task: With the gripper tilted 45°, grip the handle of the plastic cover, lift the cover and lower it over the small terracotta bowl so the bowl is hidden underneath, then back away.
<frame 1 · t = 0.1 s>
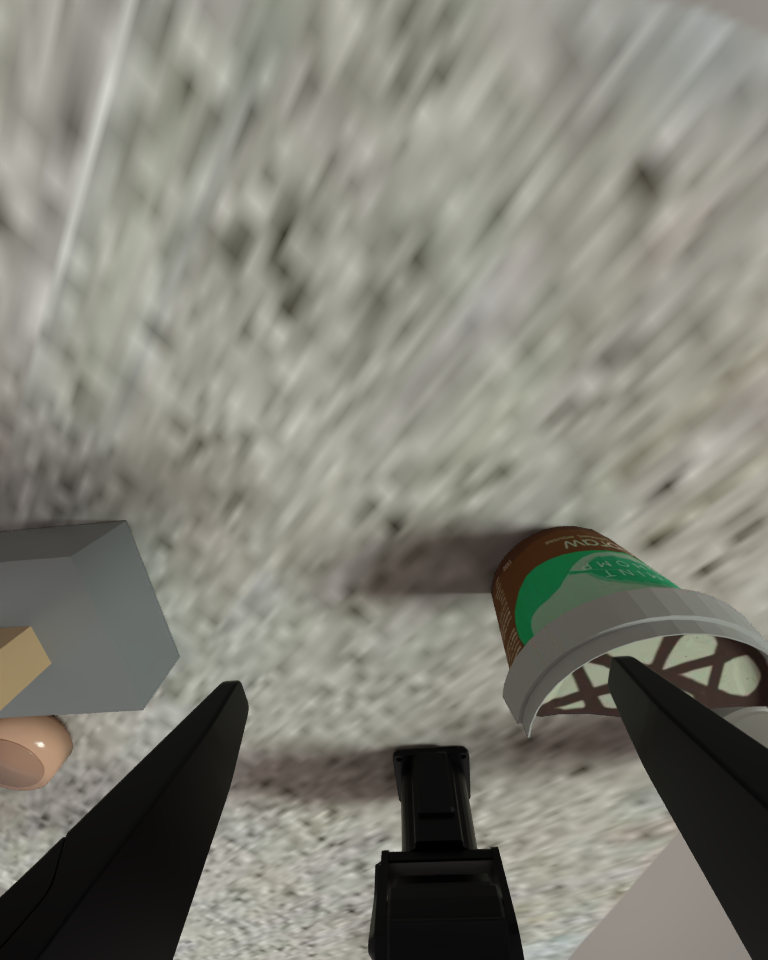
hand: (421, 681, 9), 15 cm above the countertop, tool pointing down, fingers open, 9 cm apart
food container: (560, 549, 24), on the countertop
travel mug: (734, 715, 29), on the countertop
bowl: (39, 728, 31), on the countertop
cover: (77, 599, 26), on the countertop
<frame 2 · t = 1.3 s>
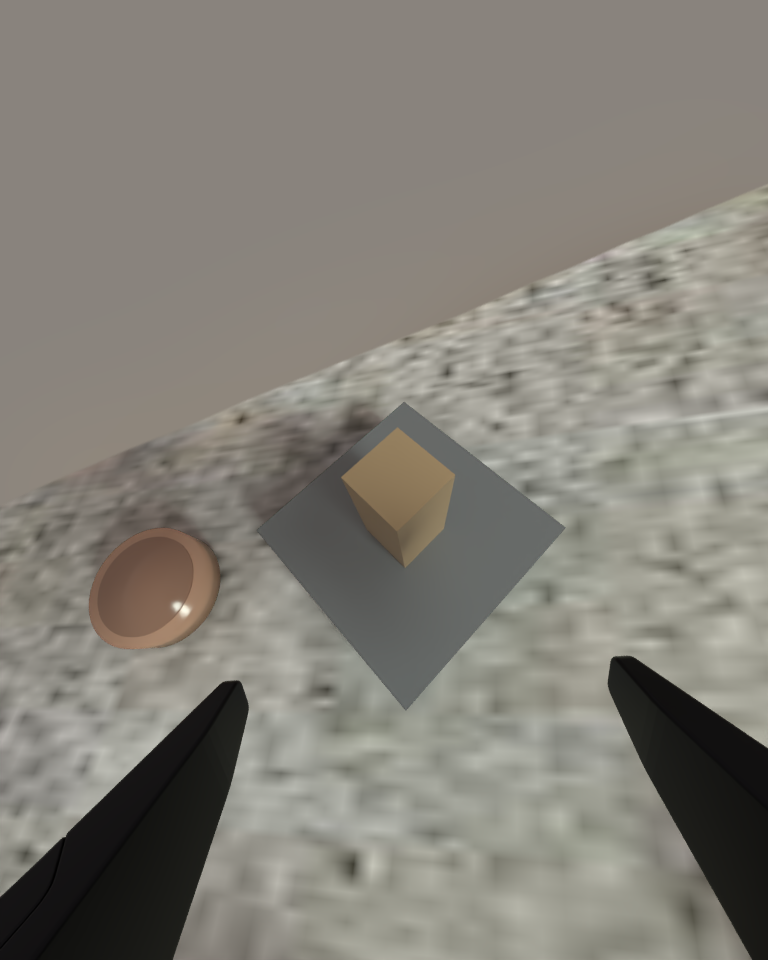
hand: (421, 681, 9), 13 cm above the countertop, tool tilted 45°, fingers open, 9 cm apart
bowl: (175, 590, 24), on the countertop
cover: (407, 547, 24), on the countertop
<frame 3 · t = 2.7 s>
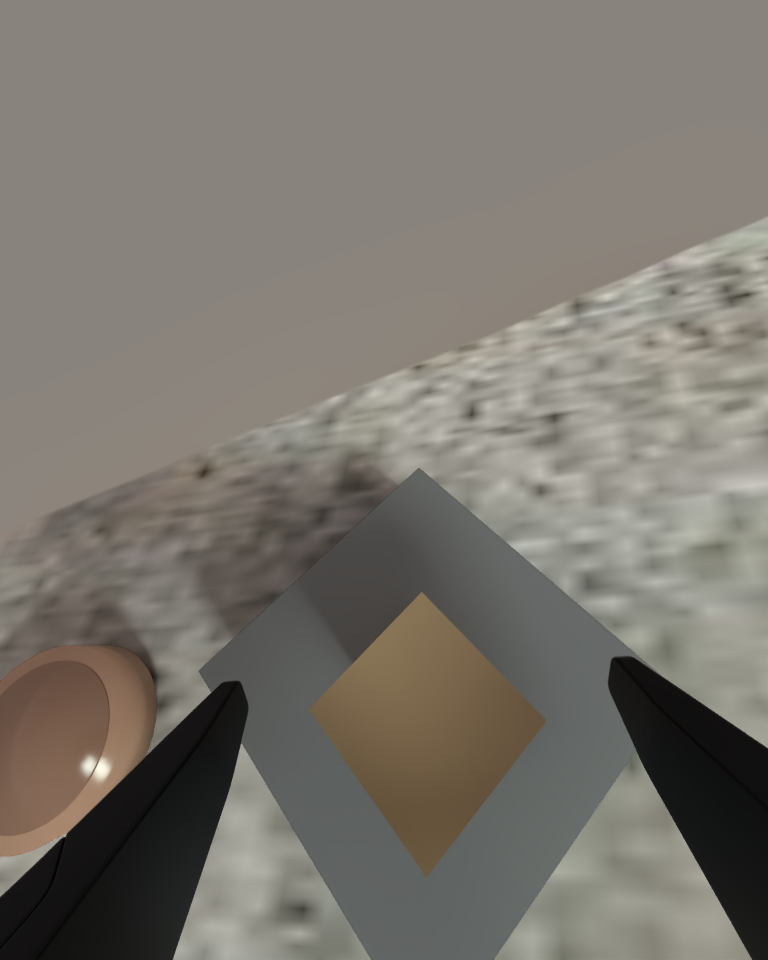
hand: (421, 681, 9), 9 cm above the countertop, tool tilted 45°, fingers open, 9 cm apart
bowl: (96, 725, 17), on the countertop
cover: (422, 671, 17), on the countertop
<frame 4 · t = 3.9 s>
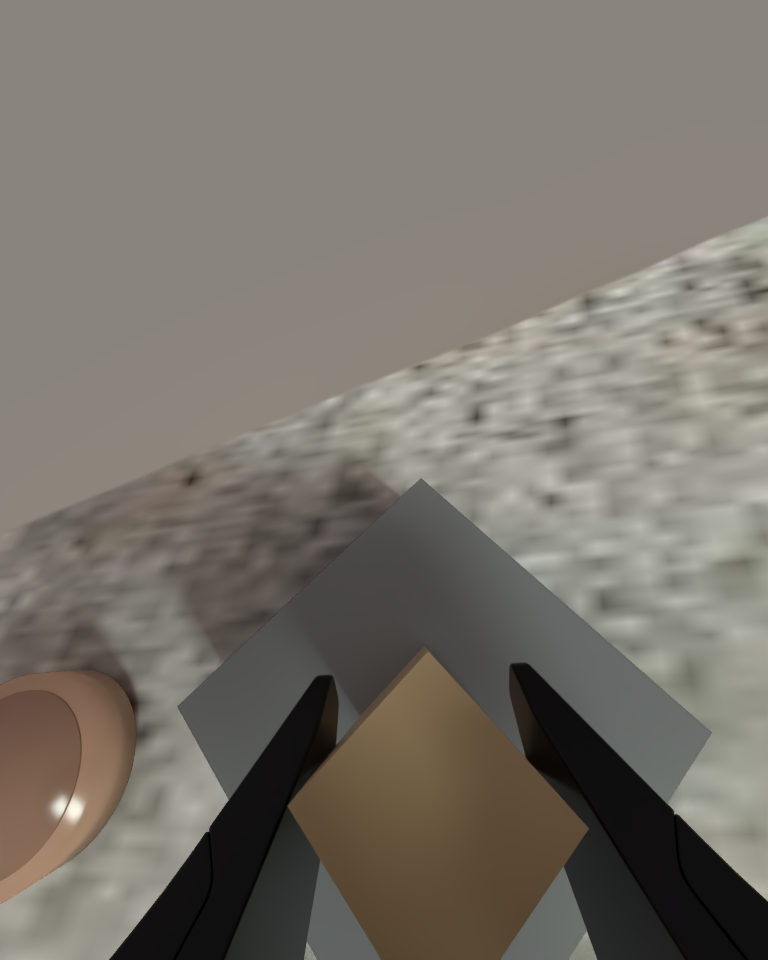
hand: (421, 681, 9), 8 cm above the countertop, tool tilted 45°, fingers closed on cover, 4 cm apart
bowl: (71, 757, 16), on the countertop
cover: (424, 698, 15), on the countertop, touching gripper
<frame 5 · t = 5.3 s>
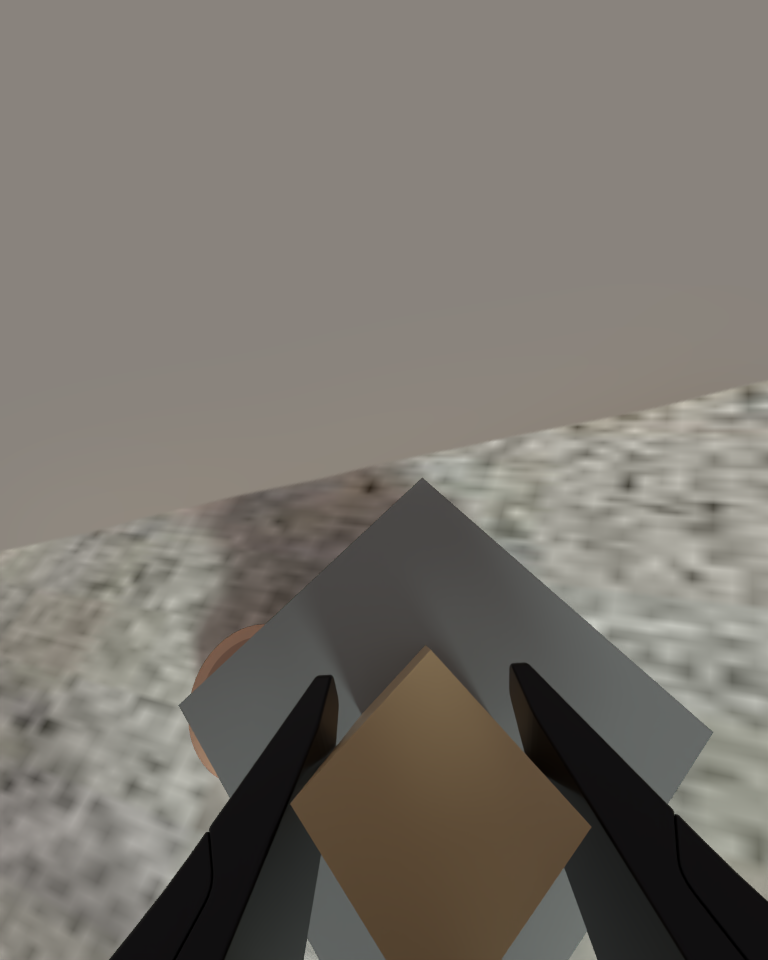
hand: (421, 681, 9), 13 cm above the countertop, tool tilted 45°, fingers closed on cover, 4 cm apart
bowl: (276, 691, 21), on the countertop
cover: (425, 697, 15), point 5 cm above the countertop, touching gripper
when the fingers open (9 cm above the countertop, at t = 7.0 s): cover stays where it is, on the countertop.
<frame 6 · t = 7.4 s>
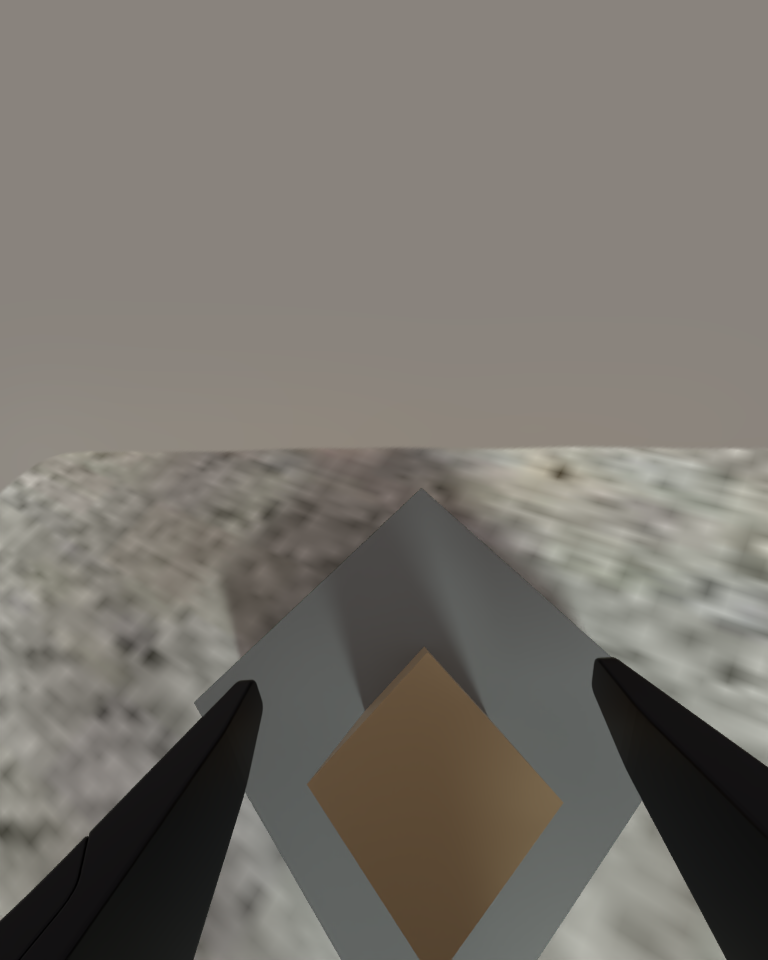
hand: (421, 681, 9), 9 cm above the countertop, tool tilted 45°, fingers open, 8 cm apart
cover: (424, 696, 16), on the countertop
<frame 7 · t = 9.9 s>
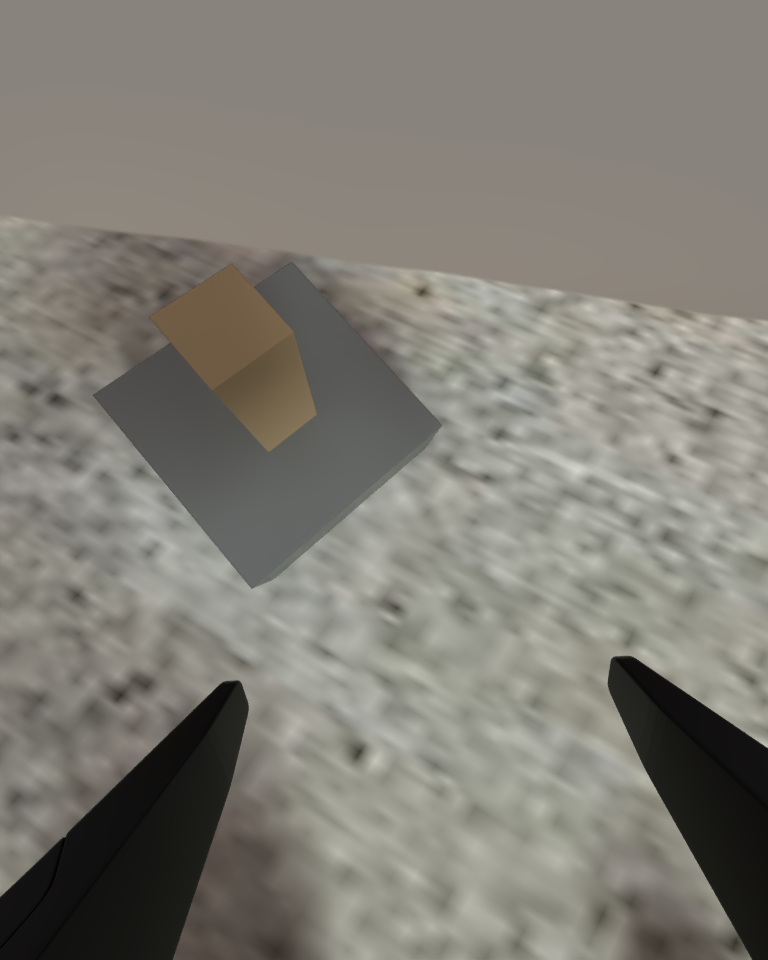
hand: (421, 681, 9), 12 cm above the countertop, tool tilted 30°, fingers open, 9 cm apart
cover: (289, 437, 22), on the countertop
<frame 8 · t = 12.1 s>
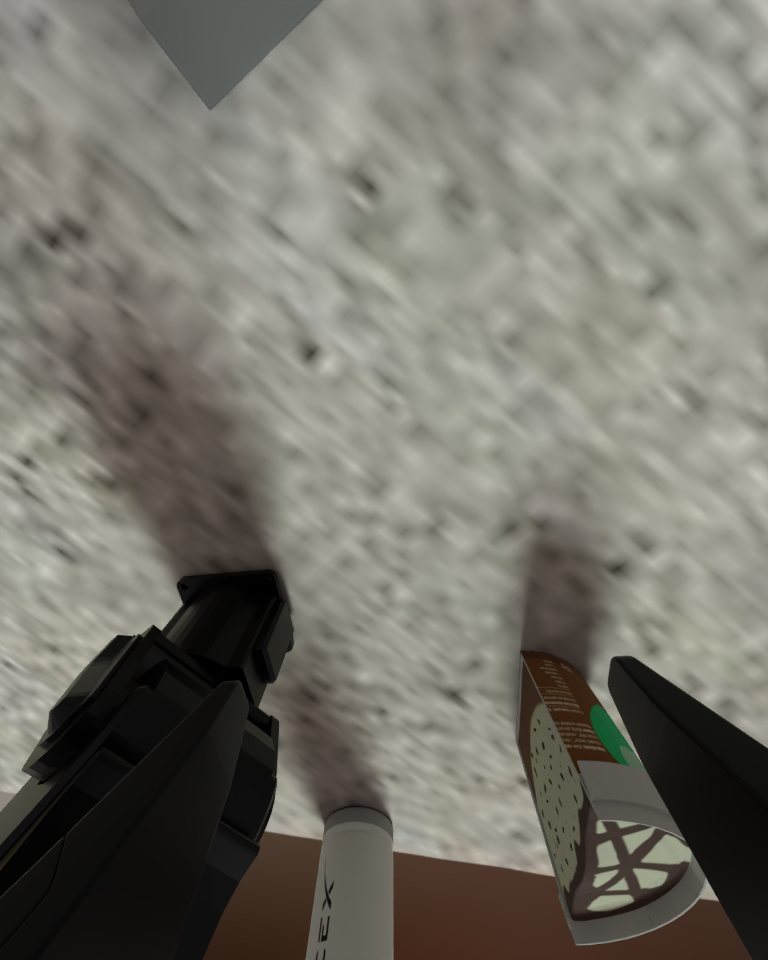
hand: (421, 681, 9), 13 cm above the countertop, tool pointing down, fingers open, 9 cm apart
food container: (558, 694, 27), on the countertop
travel mug: (361, 823, 33), on the countertop
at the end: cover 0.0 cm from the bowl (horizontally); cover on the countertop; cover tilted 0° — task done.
